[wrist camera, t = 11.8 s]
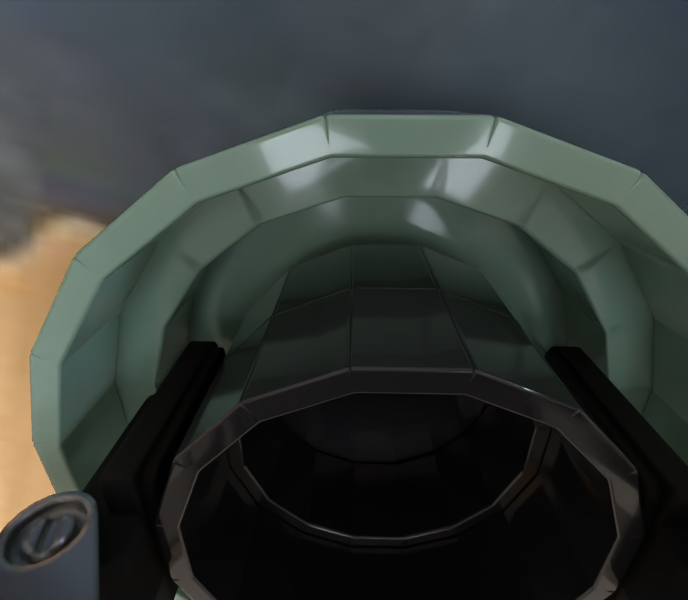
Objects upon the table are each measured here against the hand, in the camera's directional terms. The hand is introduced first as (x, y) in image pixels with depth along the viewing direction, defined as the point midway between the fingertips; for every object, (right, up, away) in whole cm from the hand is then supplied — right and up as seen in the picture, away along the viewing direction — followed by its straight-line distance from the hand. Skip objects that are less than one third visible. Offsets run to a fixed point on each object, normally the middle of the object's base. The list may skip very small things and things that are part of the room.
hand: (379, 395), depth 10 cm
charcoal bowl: (0, 0, +1) cm, 1 cm away
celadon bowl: (0, +1, +2) cm, 2 cm away
